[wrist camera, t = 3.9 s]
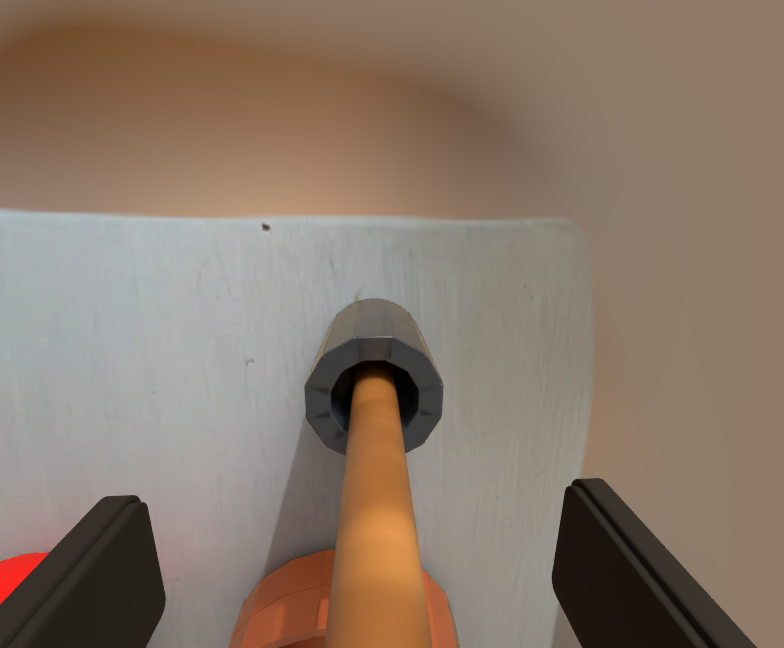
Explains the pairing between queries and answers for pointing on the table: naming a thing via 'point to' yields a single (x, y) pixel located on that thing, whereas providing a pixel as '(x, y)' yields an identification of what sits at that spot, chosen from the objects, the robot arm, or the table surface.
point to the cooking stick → (376, 528)
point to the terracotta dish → (315, 608)
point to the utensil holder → (373, 343)
